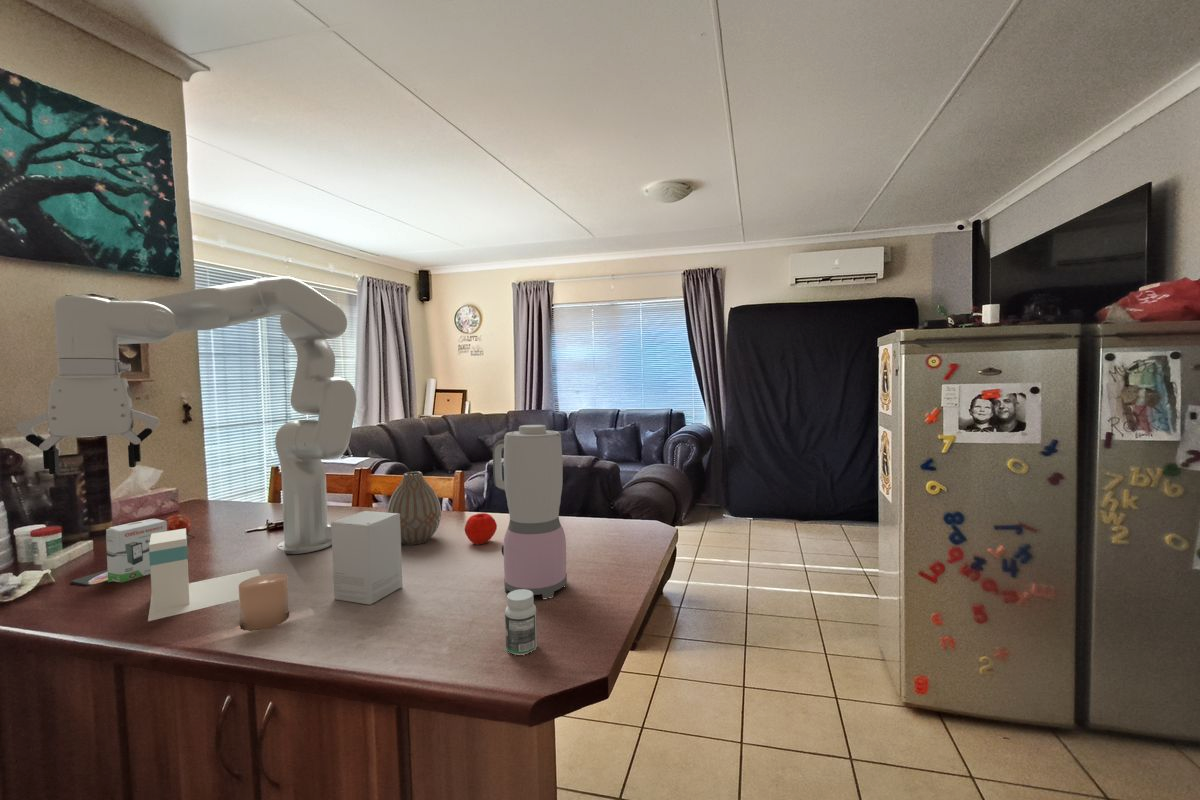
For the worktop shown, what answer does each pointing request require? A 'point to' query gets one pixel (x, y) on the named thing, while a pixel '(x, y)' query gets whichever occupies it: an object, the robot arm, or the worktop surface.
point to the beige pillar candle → (263, 601)
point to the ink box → (130, 549)
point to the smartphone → (92, 579)
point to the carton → (169, 569)
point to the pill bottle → (521, 622)
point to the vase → (415, 509)
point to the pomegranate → (178, 523)
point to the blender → (532, 509)
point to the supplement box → (366, 556)
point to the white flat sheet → (208, 594)
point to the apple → (480, 528)
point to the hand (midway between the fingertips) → (95, 469)
